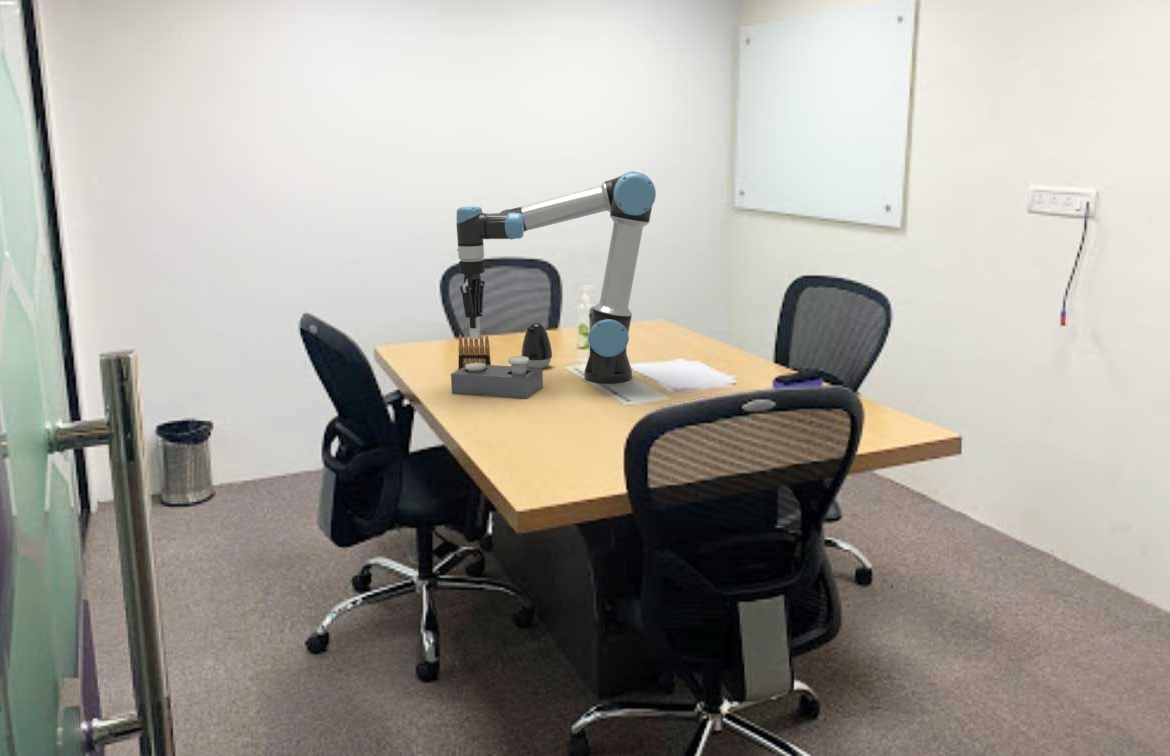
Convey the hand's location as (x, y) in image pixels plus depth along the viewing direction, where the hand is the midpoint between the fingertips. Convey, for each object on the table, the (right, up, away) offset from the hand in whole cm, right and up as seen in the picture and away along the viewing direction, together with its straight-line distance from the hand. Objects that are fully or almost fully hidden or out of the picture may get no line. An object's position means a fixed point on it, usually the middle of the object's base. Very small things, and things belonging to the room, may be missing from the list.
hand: (475, 338), depth 282 cm
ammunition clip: (-4, -9, +29) cm, 31 cm away
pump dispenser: (+17, -9, +31) cm, 37 cm away
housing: (+7, -16, +2) cm, 17 cm away
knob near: (+13, -13, -1) cm, 19 cm away
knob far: (0, -15, +4) cm, 15 cm away
